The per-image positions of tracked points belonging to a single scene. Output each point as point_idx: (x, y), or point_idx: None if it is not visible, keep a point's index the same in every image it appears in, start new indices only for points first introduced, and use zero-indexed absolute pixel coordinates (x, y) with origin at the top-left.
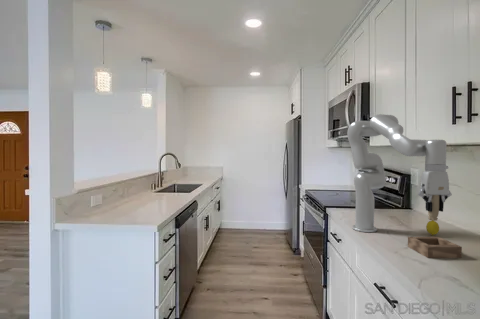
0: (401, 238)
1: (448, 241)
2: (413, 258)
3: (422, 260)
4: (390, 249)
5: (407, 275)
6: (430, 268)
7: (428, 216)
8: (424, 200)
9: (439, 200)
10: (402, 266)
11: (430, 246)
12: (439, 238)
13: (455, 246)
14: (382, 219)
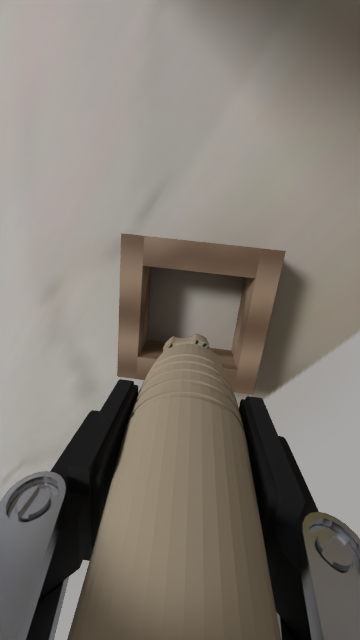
0: (188, 92)
1: (263, 328)
2: (80, 353)
3: (98, 371)
4: (45, 259)
5: (2, 442)
6: (83, 420)
7: (163, 349)
8: (17, 486)
9: (272, 576)
10: (15, 398)
11: (131, 372)
12: (263, 281)
13: (232, 386)
14: None
